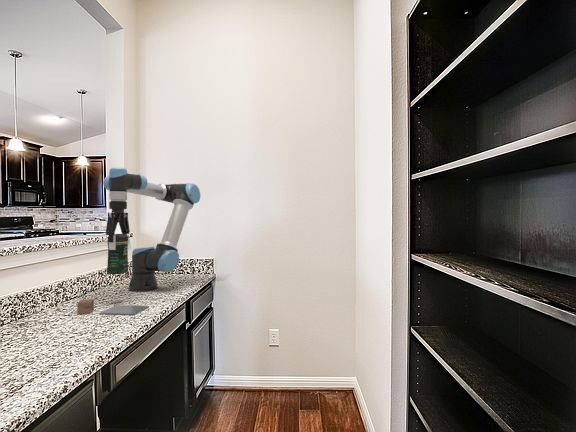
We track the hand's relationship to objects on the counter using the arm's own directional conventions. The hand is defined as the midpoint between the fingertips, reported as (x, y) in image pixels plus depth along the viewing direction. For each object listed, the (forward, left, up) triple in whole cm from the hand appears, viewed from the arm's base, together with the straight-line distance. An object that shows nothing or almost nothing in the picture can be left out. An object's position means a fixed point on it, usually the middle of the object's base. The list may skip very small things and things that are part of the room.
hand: (118, 248), depth 171 cm
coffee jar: (0, 0, -12) cm, 12 cm away
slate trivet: (+14, +11, -25) cm, 31 cm away
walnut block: (+18, -4, -25) cm, 32 cm away
